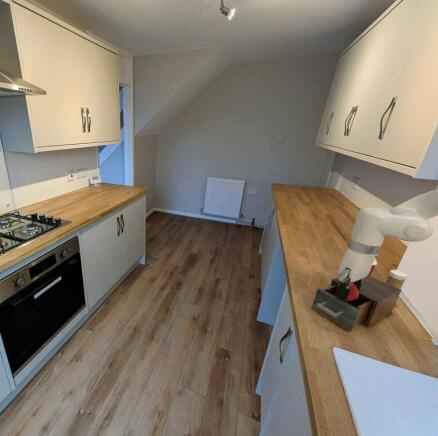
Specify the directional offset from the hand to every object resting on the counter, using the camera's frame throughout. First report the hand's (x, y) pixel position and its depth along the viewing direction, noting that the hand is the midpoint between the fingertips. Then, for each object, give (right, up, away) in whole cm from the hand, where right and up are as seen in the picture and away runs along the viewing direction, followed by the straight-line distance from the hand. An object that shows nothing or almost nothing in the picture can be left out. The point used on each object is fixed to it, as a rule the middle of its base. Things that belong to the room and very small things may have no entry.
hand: (347, 293), depth 81 cm
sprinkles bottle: (+25, -7, +11) cm, 28 cm away
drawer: (0, -9, +3) cm, 9 cm away
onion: (0, -3, +1) cm, 3 cm away
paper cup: (+21, -4, +21) cm, 30 cm away
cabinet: (+11, -8, +8) cm, 16 cm away
